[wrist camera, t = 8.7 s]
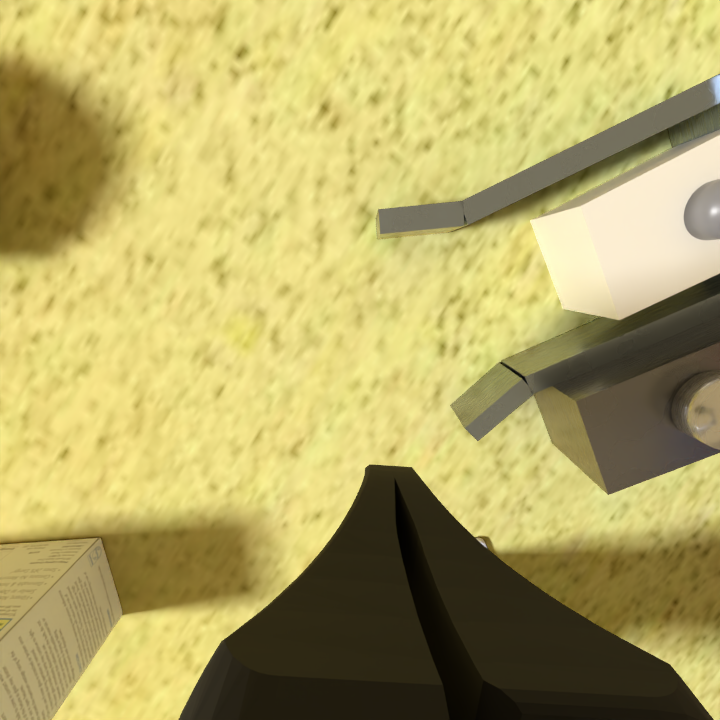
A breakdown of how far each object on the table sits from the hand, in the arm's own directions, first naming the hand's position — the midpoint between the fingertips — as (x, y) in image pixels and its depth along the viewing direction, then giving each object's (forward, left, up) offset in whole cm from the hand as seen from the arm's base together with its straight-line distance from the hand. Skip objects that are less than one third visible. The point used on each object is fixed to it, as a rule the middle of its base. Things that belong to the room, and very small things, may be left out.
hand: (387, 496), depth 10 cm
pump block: (+2, -14, -10) cm, 18 cm away
